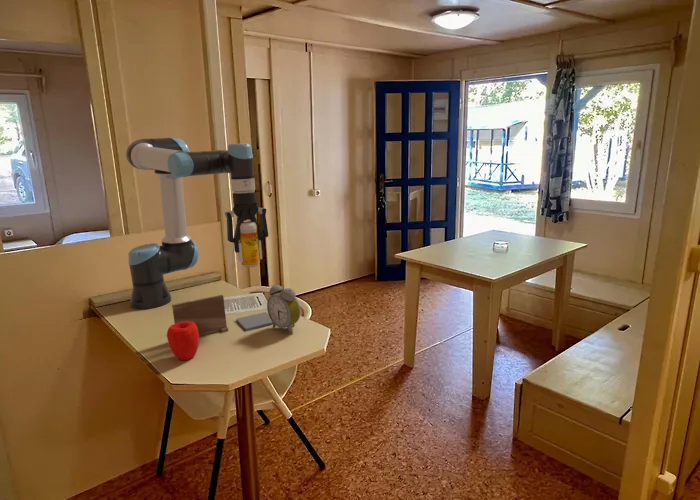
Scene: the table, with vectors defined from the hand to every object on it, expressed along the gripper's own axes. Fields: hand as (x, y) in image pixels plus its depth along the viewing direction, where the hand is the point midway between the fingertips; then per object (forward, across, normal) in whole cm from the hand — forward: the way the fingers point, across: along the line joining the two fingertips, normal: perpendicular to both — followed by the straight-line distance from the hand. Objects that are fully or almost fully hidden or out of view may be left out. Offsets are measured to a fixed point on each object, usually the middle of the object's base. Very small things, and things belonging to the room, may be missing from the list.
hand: (250, 259), depth 154 cm
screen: (+23, -18, 0) cm, 29 cm away
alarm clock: (+23, +7, -12) cm, 27 cm away
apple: (+23, -26, -14) cm, 38 cm away
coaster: (+23, 0, 0) cm, 23 cm away
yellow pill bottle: (+2, 0, 0) cm, 2 cm away
